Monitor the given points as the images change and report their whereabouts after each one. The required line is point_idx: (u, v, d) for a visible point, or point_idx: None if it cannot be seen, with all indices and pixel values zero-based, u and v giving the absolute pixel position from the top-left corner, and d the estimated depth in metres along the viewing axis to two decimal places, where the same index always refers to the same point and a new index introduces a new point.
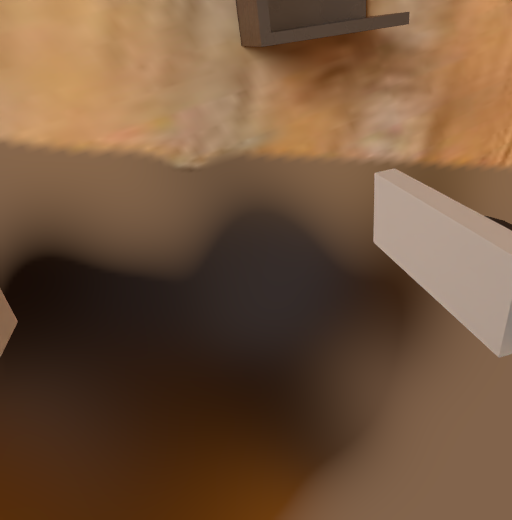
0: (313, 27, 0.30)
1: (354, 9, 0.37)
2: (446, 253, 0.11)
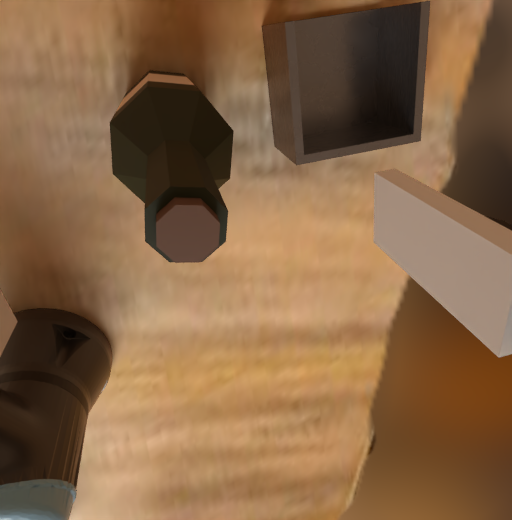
0: (416, 98, 0.38)
1: (372, 22, 0.41)
2: (446, 253, 0.11)
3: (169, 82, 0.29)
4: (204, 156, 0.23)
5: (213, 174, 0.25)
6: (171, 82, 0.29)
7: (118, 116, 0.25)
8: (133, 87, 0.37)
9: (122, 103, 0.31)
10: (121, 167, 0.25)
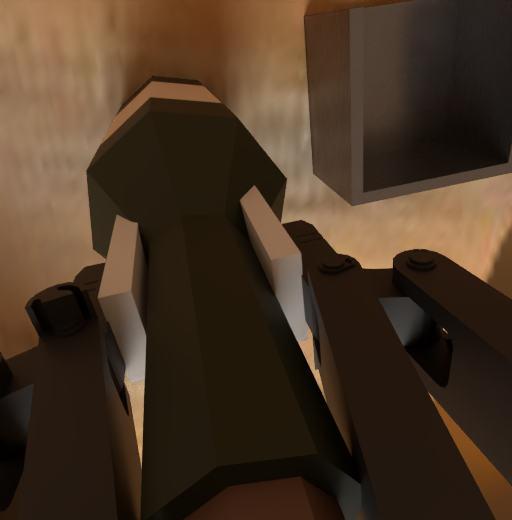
0: None
1: (448, 11, 0.30)
2: (256, 253, 0.12)
3: (183, 99, 0.19)
4: None
5: None
6: (186, 98, 0.19)
7: (100, 161, 0.15)
8: (130, 99, 0.27)
9: (112, 128, 0.21)
10: (106, 244, 0.15)
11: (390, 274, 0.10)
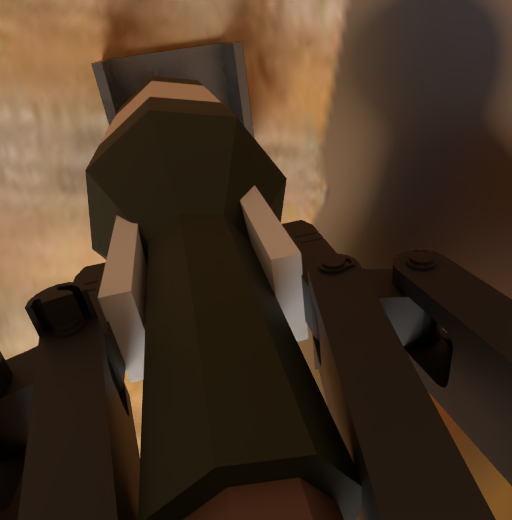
0: None
1: (215, 55, 0.42)
2: (256, 253, 0.12)
3: (182, 98, 0.19)
4: None
5: None
6: (185, 98, 0.19)
7: (99, 160, 0.15)
8: (129, 99, 0.27)
9: (111, 128, 0.21)
10: (105, 244, 0.15)
11: (390, 274, 0.10)
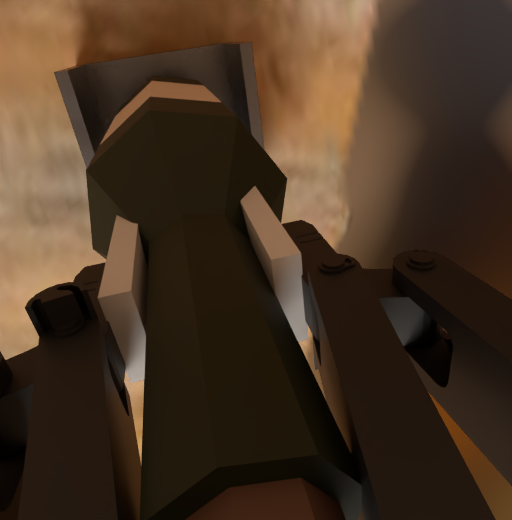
0: None
1: (217, 59, 0.34)
2: (256, 253, 0.12)
3: (183, 98, 0.19)
4: None
5: None
6: (186, 98, 0.19)
7: (100, 160, 0.15)
8: (130, 99, 0.27)
9: (112, 127, 0.21)
10: (106, 244, 0.15)
11: (390, 274, 0.10)
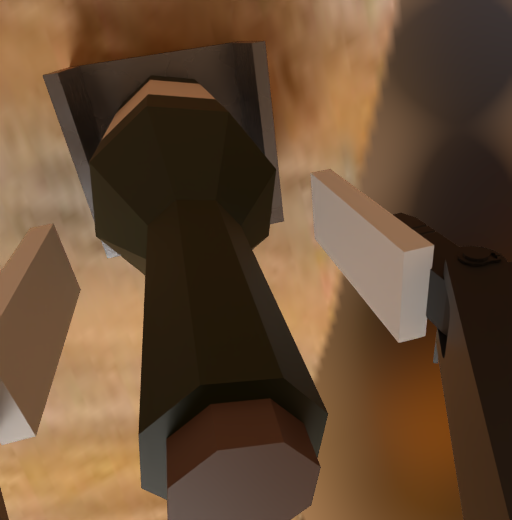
0: None
1: (224, 60, 0.31)
2: (360, 247, 0.12)
3: (179, 95, 0.20)
4: (239, 221, 0.14)
5: (250, 242, 0.16)
6: (182, 95, 0.20)
7: (102, 153, 0.16)
8: (129, 98, 0.28)
9: (112, 124, 0.22)
10: (108, 230, 0.16)
11: None
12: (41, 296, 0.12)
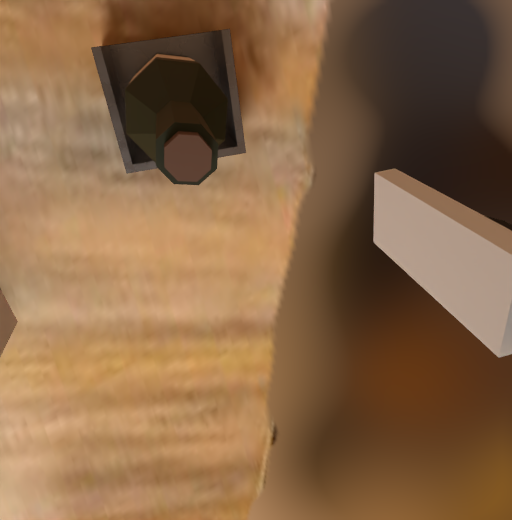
0: (233, 114, 0.42)
1: (207, 43, 0.45)
2: (446, 253, 0.11)
3: (174, 58, 0.34)
4: (202, 115, 0.28)
5: (210, 132, 0.30)
6: None
7: (132, 84, 0.30)
8: (142, 67, 0.43)
9: (133, 77, 0.36)
10: (134, 126, 0.30)
11: None
12: None
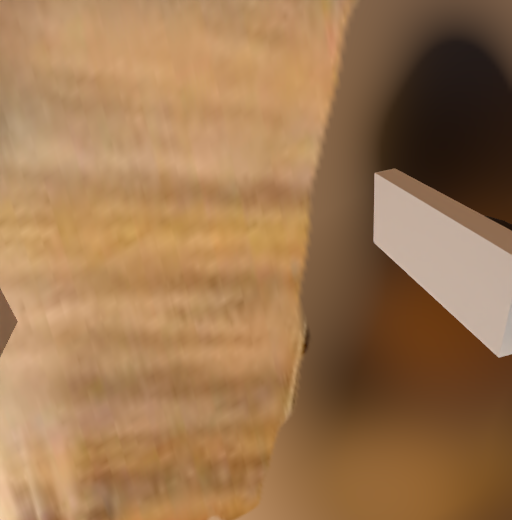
0: None
1: None
2: (446, 253, 0.11)
3: None
4: None
5: None
6: None
7: None
8: None
9: None
10: None
11: None
12: None
